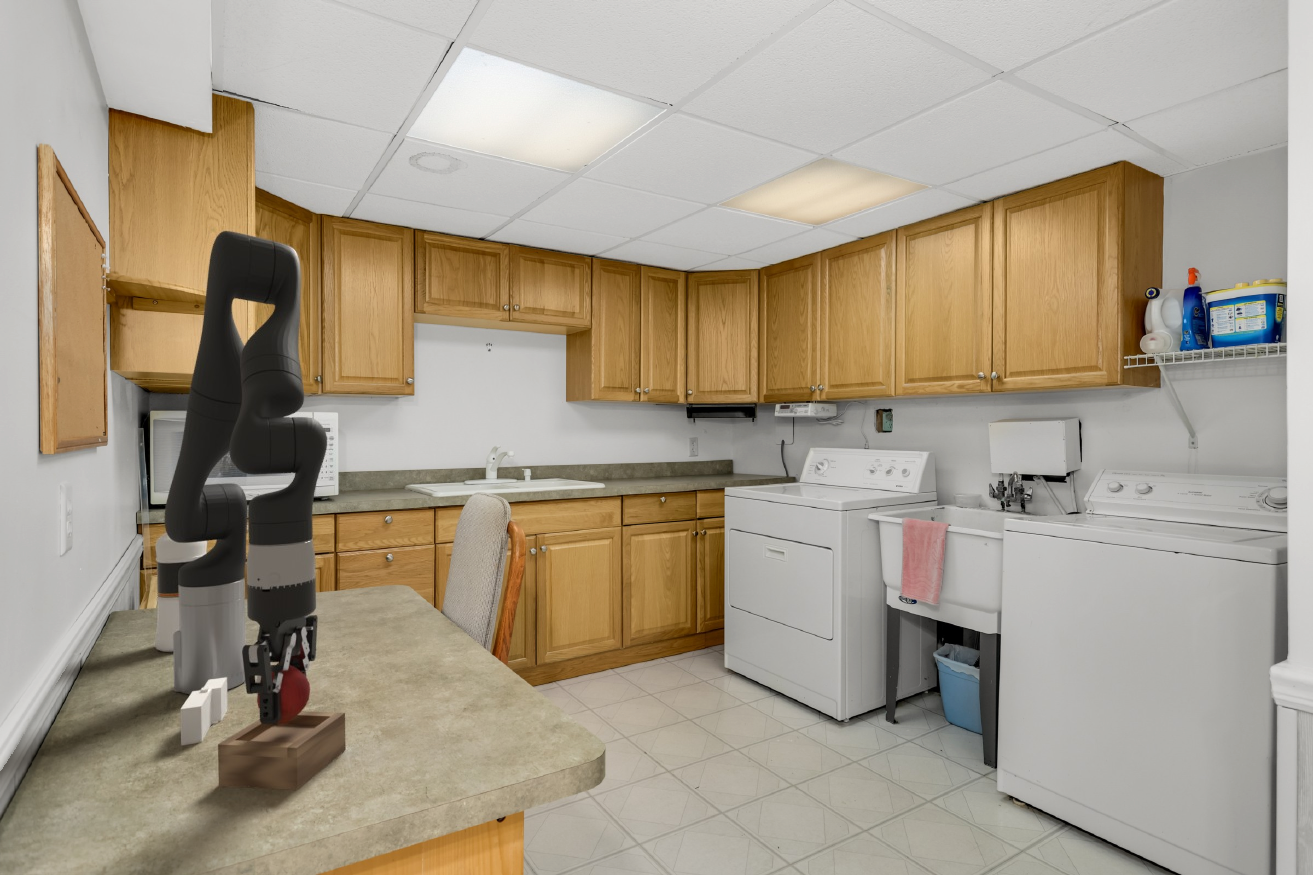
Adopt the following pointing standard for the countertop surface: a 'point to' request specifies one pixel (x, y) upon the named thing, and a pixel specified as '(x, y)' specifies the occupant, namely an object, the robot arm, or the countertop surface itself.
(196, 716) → the white notched block
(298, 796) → the countertop surface
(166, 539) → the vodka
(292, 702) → the onion
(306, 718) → the wooden box
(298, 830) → the countertop surface
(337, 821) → the countertop surface
